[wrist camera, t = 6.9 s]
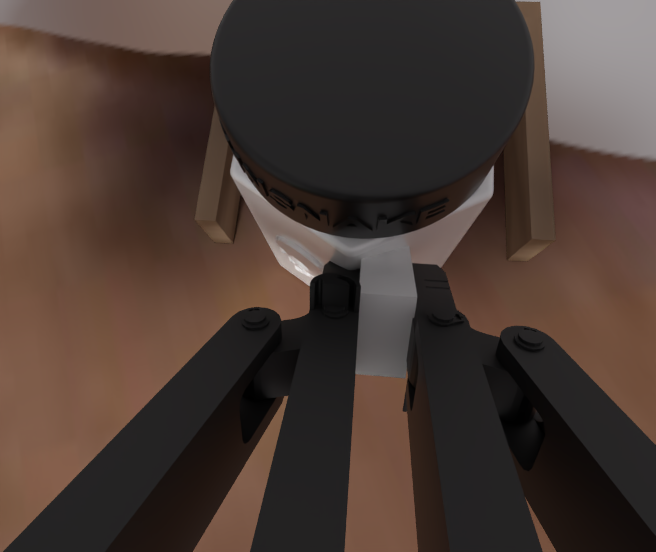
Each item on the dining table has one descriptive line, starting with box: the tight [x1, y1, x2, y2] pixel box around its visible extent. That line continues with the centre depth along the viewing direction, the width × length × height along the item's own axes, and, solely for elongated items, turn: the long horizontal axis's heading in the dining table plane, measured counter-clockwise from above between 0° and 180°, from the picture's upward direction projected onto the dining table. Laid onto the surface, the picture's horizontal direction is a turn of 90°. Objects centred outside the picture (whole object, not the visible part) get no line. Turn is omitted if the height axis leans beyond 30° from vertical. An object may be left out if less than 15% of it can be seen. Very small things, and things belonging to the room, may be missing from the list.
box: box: [194, 2, 556, 261], centre depth 22 cm, size 16×13×3 cm
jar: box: [210, 0, 535, 286], centre depth 16 cm, size 9×8×12 cm
